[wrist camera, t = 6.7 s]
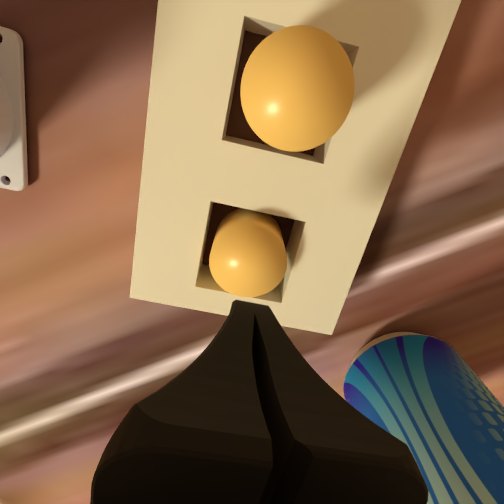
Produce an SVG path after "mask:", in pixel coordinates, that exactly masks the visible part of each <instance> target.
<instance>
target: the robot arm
mask: <svg viewBox="0 0 504 504" xmlns="http://www.w3.org/2000/svg"><path fill="white" fill-rule="evenodd" d="M0 34H1V35H2V38H3V40H2V42H1V43H0V188H5V189H10V190H15V191H20V190H23V189H25V188H26V187H27V186H28V168H27V141H26V113H25V85H24V57H23V42H22V38H21V37H20V35H19V34H18V33H17V32H16V31H14V30H12V29H8V28H5V27H1V26H0ZM6 176H7V177H9V178H10V181H11V182H10V183H8V182H7V181H6V178H5V177H6ZM428 491H429V490H428V488H427V485H426V483H425V480H424V478H423V476H422V474H421V472H420V469H419V467H418V465H417V463H416V461H415V459H414V457H413V455H412V453H411V451H410V449H409V447H408V446H407V444H405V443H404V442H402V441H401V440H399V439H398V438H396V437H395V436H393V435H392V434H390V433H389V432H387V431H386V430H384V429H383V428H381V427H380V426H378V425H376V424H375V423H374V422H372V421H371V420H370V419H368V418H367V417H366V416H364V415H363V414H362V413H360V412H359V411H358V410H356V409H355V408H354V407H353V406H352V405H350V404H349V403H348V402H347V401H346V400H344V399H343V398H342V397H341V396H340V395H339V394H338V393H337V392H335V391H334V390H333V389H332V388H331V387H330V386H329V385H328V384H327V383H326V382H325V381H324V380H323V379H322V378H321V377H320V376H319V375H318V374H317V373H316V372H315V371H314V369H313V368H312V367H311V366H310V365H309V364H308V363H307V362H306V360H305V359H304V358H303V357H302V355H301V354H300V353H299V351H298V350H297V349H296V348H295V346H294V345H293V343H292V342H291V340H290V339H289V337H288V336H287V335H286V333H285V331H284V330H283V328H282V327H281V325H280V323H279V322H278V320H277V318H276V317H275V315H274V313H273V312H272V310H271V308H270V307H269V306H268V305H262V304H257V303H252V302H246V301H241V300H234V301H233V302H232V305H231V309H230V313H229V315H228V317H227V319H226V321H225V322H224V324H223V326H222V327H221V329H220V331H219V332H218V333H217V335H216V336H215V338H214V339H213V340H212V342H211V343H210V344H209V345H208V347H207V348H206V349H205V350H204V351H203V352H202V353H201V355H200V356H199V357H198V358H197V359H196V360H195V361H194V362H193V363H192V364H190V365H189V366H188V367H187V368H186V369H185V370H184V371H183V372H182V373H180V374H179V375H178V376H177V377H175V378H174V379H173V380H171V381H170V382H169V383H167V384H166V385H165V386H163V387H162V388H161V389H159V390H158V391H156V392H155V393H153V394H151V395H150V396H148V397H146V398H145V399H143V400H141V401H140V402H138V403H136V404H135V405H133V407H132V408H131V409H130V411H129V412H128V413H127V415H126V416H125V417H124V419H123V420H122V422H121V423H120V425H119V426H118V428H117V429H116V431H115V432H114V434H113V435H112V437H111V439H110V441H109V442H108V444H107V446H106V448H105V450H104V452H103V454H102V457H101V459H100V461H99V464H98V466H97V469H96V471H95V474H94V477H93V481H92V486H91V503H90V504H427V502H428Z"/></svg>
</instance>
